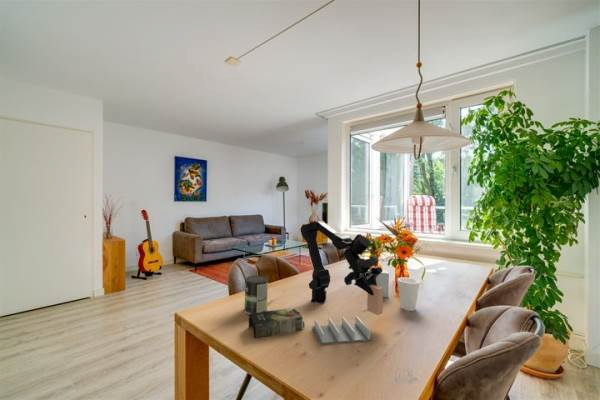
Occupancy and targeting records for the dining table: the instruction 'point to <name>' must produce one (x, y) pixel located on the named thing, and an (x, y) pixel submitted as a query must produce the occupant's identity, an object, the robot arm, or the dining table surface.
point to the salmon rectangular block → (375, 300)
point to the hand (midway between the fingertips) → (375, 294)
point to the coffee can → (256, 294)
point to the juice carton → (276, 322)
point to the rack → (341, 332)
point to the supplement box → (383, 282)
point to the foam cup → (408, 293)
